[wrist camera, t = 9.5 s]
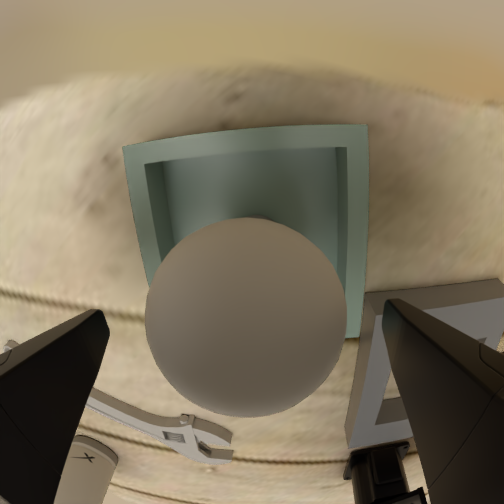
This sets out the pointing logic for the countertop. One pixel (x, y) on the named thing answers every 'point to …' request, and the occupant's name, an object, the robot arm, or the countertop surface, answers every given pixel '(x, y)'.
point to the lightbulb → (246, 317)
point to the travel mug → (86, 472)
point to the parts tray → (258, 191)
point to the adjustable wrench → (164, 427)
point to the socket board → (377, 360)
